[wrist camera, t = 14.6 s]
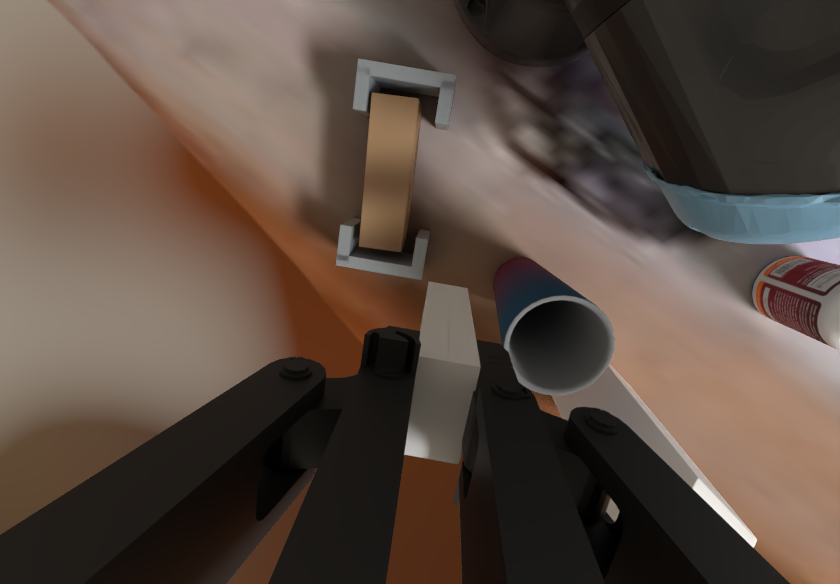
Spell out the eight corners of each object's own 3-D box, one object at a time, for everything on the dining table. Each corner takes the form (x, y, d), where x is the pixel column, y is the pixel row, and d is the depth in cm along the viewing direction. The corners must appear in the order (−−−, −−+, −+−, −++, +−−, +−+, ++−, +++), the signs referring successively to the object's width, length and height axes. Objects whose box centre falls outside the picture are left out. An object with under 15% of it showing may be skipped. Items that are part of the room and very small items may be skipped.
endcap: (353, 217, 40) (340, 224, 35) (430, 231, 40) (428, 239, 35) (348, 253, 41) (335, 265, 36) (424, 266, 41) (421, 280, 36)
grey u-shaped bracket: (447, 130, 37) (447, 125, 32) (364, 116, 37) (352, 108, 32) (455, 86, 36) (456, 75, 31) (369, 72, 36) (358, 58, 31)
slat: (381, 101, 37) (371, 92, 32) (422, 107, 37) (418, 98, 32) (369, 236, 40) (358, 246, 36) (406, 242, 40) (400, 252, 36)
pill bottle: (796, 326, 40) (920, 383, 30) (736, 307, 40) (839, 357, 30) (834, 265, 38) (980, 303, 28) (771, 245, 38) (894, 275, 28)
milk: (590, 343, 42) (736, 519, 21) (628, 383, 43) (804, 590, 22) (543, 381, 44) (634, 581, 22) (580, 419, 44) (702, 645, 23)
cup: (473, 263, 40) (488, 317, 26) (543, 237, 39) (598, 279, 25) (497, 325, 42) (523, 408, 28) (564, 302, 41) (627, 376, 27)
